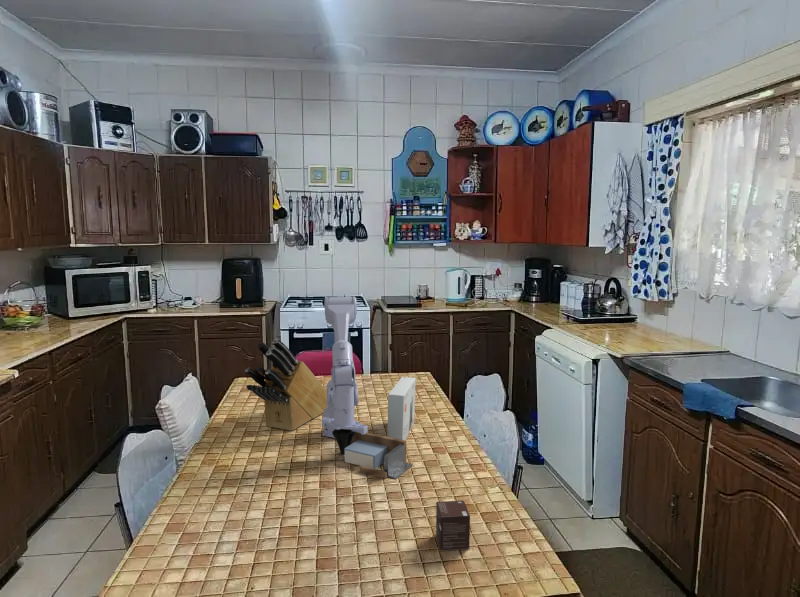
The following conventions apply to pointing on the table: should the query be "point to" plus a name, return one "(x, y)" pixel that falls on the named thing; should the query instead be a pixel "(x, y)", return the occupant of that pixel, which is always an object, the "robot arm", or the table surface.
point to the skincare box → (401, 408)
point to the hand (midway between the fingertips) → (344, 453)
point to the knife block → (287, 389)
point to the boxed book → (365, 454)
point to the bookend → (395, 462)
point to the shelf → (379, 440)
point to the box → (452, 525)
